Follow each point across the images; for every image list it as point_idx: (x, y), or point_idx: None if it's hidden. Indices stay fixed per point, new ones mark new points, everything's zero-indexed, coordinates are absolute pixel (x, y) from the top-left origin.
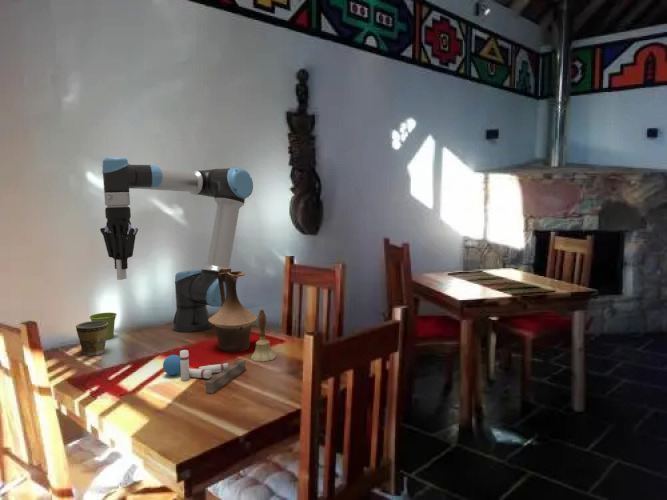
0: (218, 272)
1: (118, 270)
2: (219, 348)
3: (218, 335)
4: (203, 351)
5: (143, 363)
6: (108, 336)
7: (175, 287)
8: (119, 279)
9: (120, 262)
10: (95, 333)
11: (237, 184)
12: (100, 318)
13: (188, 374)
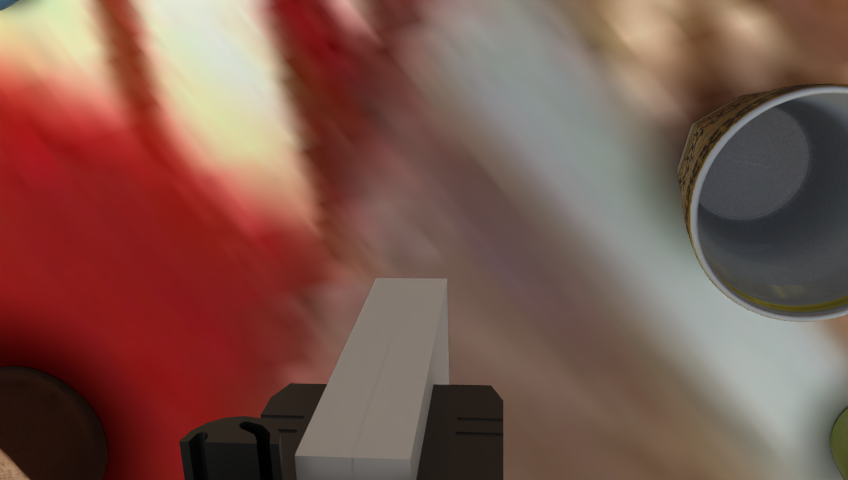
0: None
1: (394, 342)
2: (66, 387)
3: (12, 415)
4: (130, 342)
5: (299, 72)
6: (843, 424)
7: None
8: (401, 278)
9: (309, 432)
10: (712, 130)
11: None
12: None
13: None
